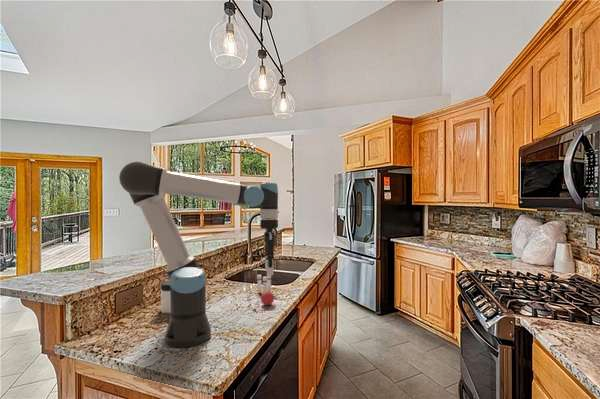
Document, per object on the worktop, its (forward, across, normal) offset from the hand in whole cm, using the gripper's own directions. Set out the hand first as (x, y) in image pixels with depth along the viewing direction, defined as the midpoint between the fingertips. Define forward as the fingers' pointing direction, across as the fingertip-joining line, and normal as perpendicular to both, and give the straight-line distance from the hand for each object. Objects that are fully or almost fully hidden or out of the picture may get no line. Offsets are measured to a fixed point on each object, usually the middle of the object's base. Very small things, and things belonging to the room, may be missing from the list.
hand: (269, 272), depth 132 cm
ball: (+14, +10, 0) cm, 17 cm away
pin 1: (+17, +29, +2) cm, 34 cm away
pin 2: (+17, +29, -2) cm, 34 cm away
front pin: (+17, +24, 0) cm, 30 cm away
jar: (+17, +12, +42) cm, 47 cm away
